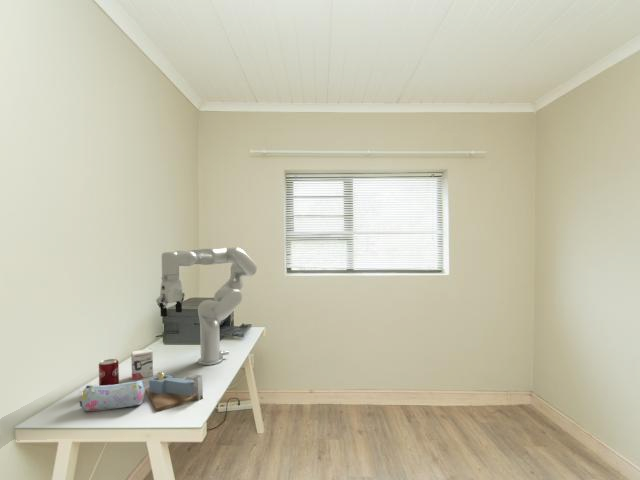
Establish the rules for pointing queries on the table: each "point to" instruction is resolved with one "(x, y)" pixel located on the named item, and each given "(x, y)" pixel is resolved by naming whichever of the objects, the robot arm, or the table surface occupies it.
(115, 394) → the pencil case
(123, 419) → the table surface
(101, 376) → the soda can
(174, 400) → the board
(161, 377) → the peg
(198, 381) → the plate
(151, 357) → the ink box
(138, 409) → the table surface
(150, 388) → the link
